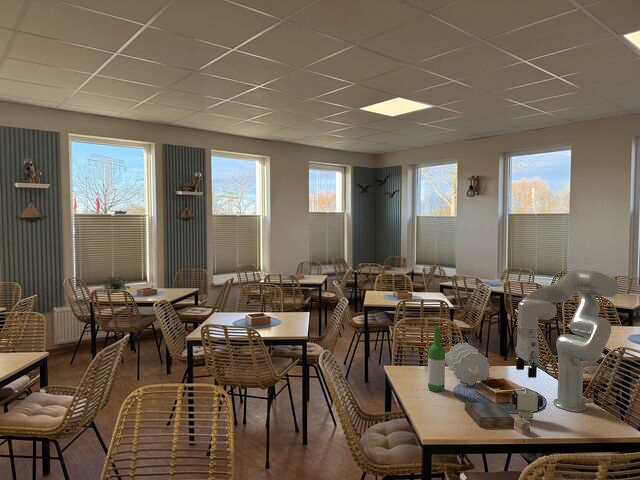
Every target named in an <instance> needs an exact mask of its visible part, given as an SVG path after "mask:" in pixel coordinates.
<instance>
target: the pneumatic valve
mask: <svg viewBox="0 0 640 480" xmlns="http://www.w3.org/2000/svg"><path fill="white" fill-rule="evenodd" d="M509 403H510V405H511V406H513V407H514V409H515V410H519V411H518V412H517V413H518V415H517V416H518V417H519V419H522V418H523V419H525V420H526V421H528V422H530V421H532V420H533V419H534V413H533V412H531V411H535V412H540V409H541V408H542V407H543V406H544V399H543V396H542V395H540V394H538V392H537V391H532V390H531V391H530V390H528V389H525V390H524V389H523V390H518V389H517V390H516V389H514V390H513V391H512V393H510V394H509Z"/></svg>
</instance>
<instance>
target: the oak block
mask: <svg viewBox="0 0 640 480" xmlns="http://www.w3.org/2000/svg"><path fill="white" fill-rule="evenodd" d="M514 419H515V418H514ZM513 430H514V431H515V432H517V433H518V434H520V435H525V434H530V433H531V422H530V421H527V420H525V419H523V418H522V419H521V418H517V419H515V420H514V426H513Z"/></svg>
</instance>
